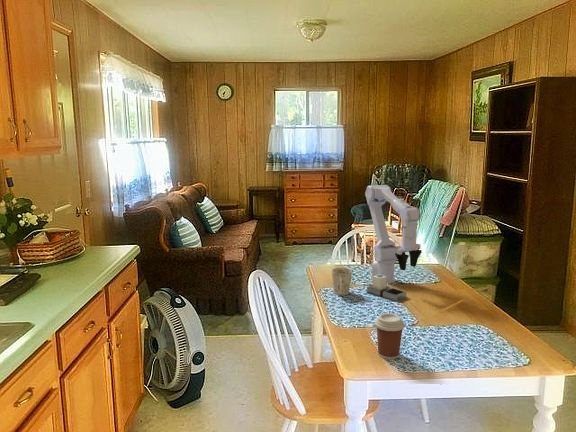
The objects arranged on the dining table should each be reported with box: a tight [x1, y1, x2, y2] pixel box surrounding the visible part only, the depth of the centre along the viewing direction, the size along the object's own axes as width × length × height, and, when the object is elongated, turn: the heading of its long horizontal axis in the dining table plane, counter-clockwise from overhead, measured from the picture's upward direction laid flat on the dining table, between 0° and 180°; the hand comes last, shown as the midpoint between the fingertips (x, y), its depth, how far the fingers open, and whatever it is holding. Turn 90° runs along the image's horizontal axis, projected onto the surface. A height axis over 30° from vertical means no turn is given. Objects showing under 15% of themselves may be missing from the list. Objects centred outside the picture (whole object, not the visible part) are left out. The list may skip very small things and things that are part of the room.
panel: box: [365, 284, 408, 303], centre depth 200 cm, size 15×9×3 cm, turn 43°
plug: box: [371, 274, 387, 290], centre depth 202 cm, size 4×4×8 cm
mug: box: [331, 267, 353, 296], centre depth 200 cm, size 8×13×10 cm, turn 174°
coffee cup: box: [374, 312, 406, 360], centre depth 148 cm, size 9×9×12 cm
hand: (407, 268), depth 204 cm, fingers open, 7 cm apart
